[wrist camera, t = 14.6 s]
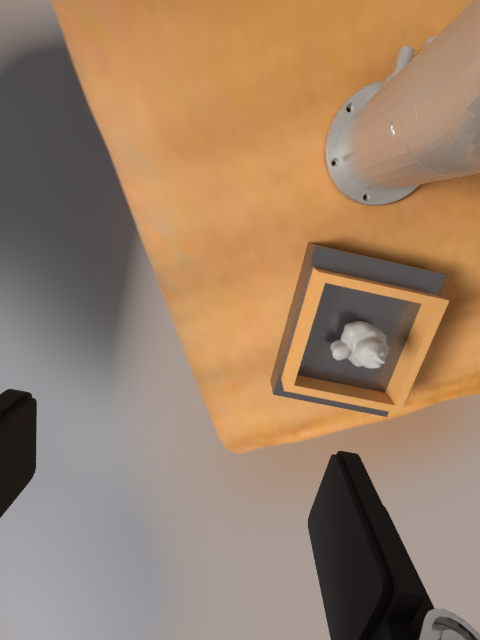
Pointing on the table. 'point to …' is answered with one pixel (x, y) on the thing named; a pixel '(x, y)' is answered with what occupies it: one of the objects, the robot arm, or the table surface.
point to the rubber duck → (361, 345)
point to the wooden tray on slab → (350, 306)
